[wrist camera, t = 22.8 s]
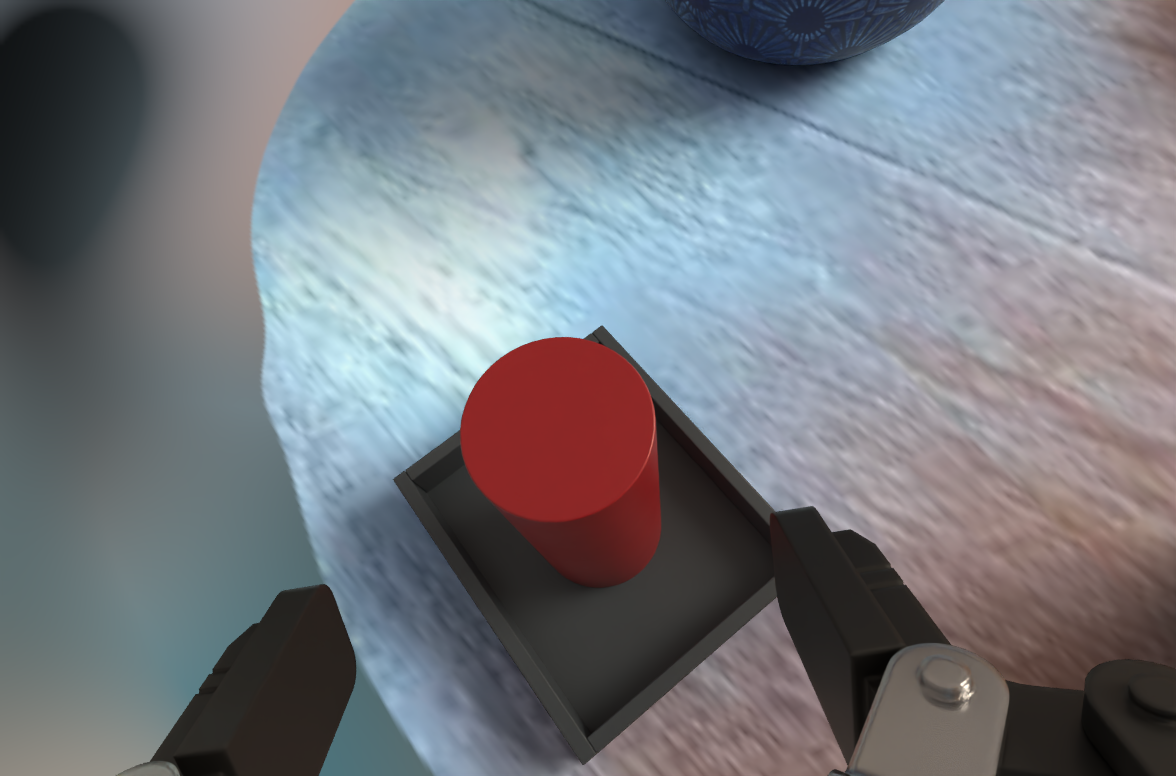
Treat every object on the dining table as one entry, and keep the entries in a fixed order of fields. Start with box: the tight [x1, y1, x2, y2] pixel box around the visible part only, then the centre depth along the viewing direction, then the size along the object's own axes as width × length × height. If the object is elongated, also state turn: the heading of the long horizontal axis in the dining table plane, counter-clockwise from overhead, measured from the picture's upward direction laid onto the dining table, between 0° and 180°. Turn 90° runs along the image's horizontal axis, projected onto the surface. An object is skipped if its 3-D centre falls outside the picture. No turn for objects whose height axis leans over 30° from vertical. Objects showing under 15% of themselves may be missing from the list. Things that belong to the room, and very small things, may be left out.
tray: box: [393, 326, 777, 765], centre depth 28 cm, size 11×13×3 cm
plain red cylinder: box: [460, 337, 661, 588], centre depth 23 cm, size 5×5×12 cm
